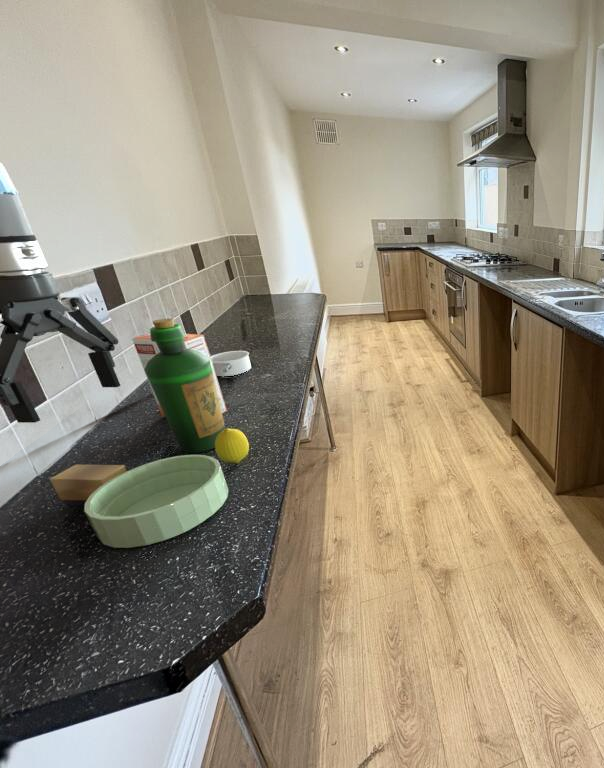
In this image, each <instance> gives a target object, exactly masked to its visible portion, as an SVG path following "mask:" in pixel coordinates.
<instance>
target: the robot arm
mask: <svg viewBox="0 0 604 768" xmlns="http://www.w3.org/2000/svg"><path fill="white" fill-rule="evenodd" d="M25 211H26V210H25V209H24V206H23V203H22V201H21V198H20V195H19V191H18V189H17V188H16V187H15V185H14V183H13V181H12V180H11V178H10V175H9V173H8V172H7V170H6V168H5V166H4V165H3V163H2V162H0V328H1V327H2V325H3V328H2V331H1V332H0V333H1V334H0V339H1V341H0V404H1V405H3V406H8V407H9V409H10V410H11V412H12V414H13V416H14V419H15V420H16V422H17V424H18V423H22V424H23V423H29V424H30V423H38V422H40V421H41V418H40V416H39V414H38V412H37V410H36V408H35V406H34V405H33V403H32V400H31V399H30V396H29V395H28V393H27V391H26V389H25V387H24V385H23V383H22V380H14V378H15V375H16V373H17V370H18V368H19V365H20V363H21V360H22V357H23V356H24V352H25V350H26V347H27V345H28V344H29V343H30V342H31V341H32V340H33V338H34V337H39V336H44V335H45V334H47V333H56V332H59V333H61V334H62V335H65V336H66V337H68V338H70V339H71V340H73V341H75V342H76V343H79V344H80V345H82V346H83V347H86V348H88V349H90V351H92V352H88V353H87V355H88V356H89V359H90V362H91V364H92V367H93V369H94V372H95V374H96V376H97V378H98V380H99V383H100V385H101V388H119V387H121V386H122V385H121V383H120V381H119V378H118V376H117V373H116V370H115V367H116V364H115V360H114V359H113V356H112V354H111V352H113V351H115V349H116V347H115V345H118V344H119V339H118V338H117V337H116V336H115V334H113V333H112V332H111V331H110V330H109V329H108V328H107V327H106V326H105V325H104V324H103V323H102V322H101V321H100V320H99V319H97V317H95V315H94V314H93V313H91V311H90V310H89V309H88V308H87V306H86V304H85V303H84V301H83V299H82V298H81V297H79V296H78V297H77V296H76V297H75V296H74V297H73V296H72V297H69V296H66V297H65V296H64V297H61V298H60V299H59V296H60V294H61V293H60V292H61V291H60V288H59V287H58V285H57V283H56V280H55V278H54V275H53V274H52V273H50V272H49V271H45V270H46V269H48V267H49V264H48V262H47V259H46V257H45V255H44V253H43V251H42V248H41V246H40V243H39V240H37V237H36V236H35V234H34V232H33V229H32V226H31V224H30V221H29V220H28V216H27V214H26V212H25ZM65 312H67V315H69V316H70V317H71V318H72V319H73V320H74V321H73V320H71V319H70V318H68V317H66V316H65ZM77 324H78V325H77Z"/></svg>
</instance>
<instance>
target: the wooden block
mask: <svg viewBox="0 0 604 768" xmlns="http://www.w3.org/2000/svg"><path fill="white" fill-rule="evenodd" d="M127 471H128V470H127V468H126V466H125V465H124V464H74V465H72V466H70V467H69V468H67V469H64V470H63V471H61V472H60V473H57V474H56V475H54V476H52V477H51V478H49V482H51V484H52V487H53V489H54V490H55V492H56V495H58V498H59V500H60V501H65V502H66V505H67V506H68V507H84V506H85V502H86V501H87V499H88V498H89V496H90V495H91V494H92V493H93V492H94V491H96V490H97V489H98V488H99V487H100V486H102V485H103V484H105V483H106V482H108V481H110V480H111V479H113V478H115V477H117V476H119V475H121V474H123V473H125V472H127Z"/></svg>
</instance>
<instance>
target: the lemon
mask: <svg viewBox="0 0 604 768" xmlns="http://www.w3.org/2000/svg"><path fill="white" fill-rule="evenodd" d="M225 428H226V427H225ZM214 449H215V452H216V455H217V456H218V458H219V459H220V460H222V461H223V462H225V463H231V464H239V463H240V462H241V461H242V460H244V459H245V458H246V457H247V456H248V454H249V451H250V443H249V440H248V438H247V437H246V435H245V433H244V432H242V430H240V429H237V428H229V427H227V428H226V429H225V430H224V431H222V432H221V433H219V434H218V436H217V437H216V440H215V448H214Z"/></svg>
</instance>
